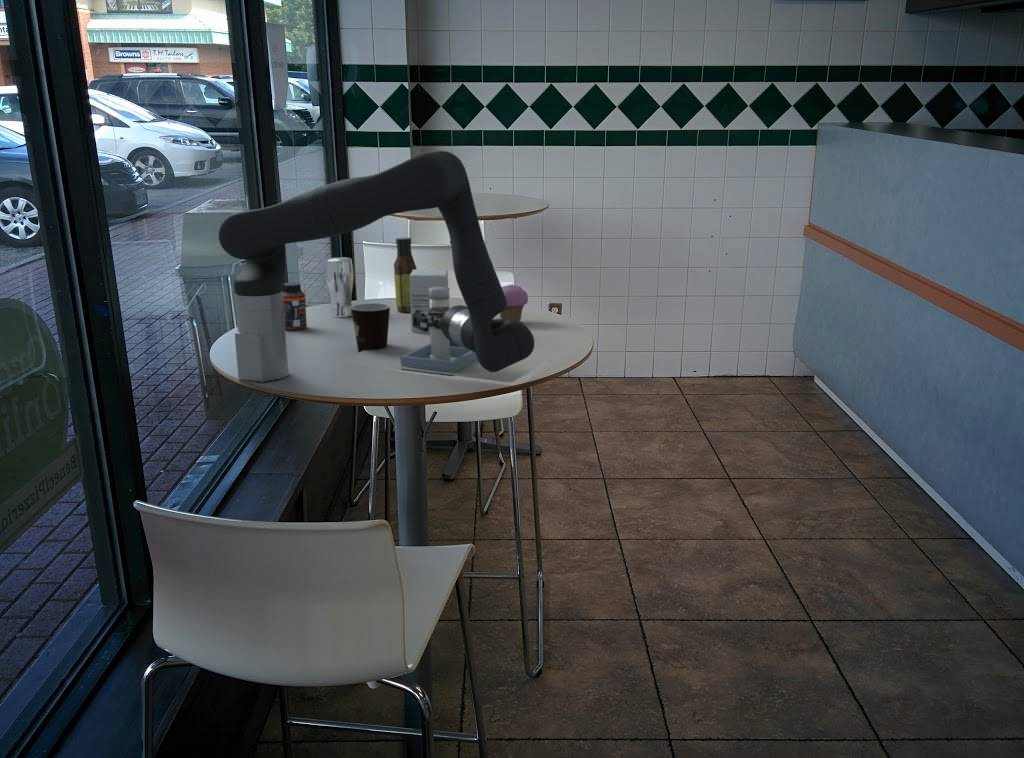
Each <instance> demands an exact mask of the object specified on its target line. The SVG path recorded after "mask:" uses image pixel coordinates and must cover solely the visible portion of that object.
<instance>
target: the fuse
mask: <svg viewBox="0 0 1024 758" xmlns="http://www.w3.org/2000/svg"><path fill="white" fill-rule="evenodd" d="M429 299H430V306H429V307H430V312H432V311H437V312H444V311H448V310H449V309H450V287H449V286H448V287H431V288H429ZM437 316H438V315H435V318H436V317H437ZM429 334H430V336H429V337H430V341H429V342H430V343H429V344H430V346H431V354H429V359H435V360H444V361H451V356H450V340H448V339H447V338H446V337H445V336H444V334H443V332H442V331H441V330H437V329H430V332H429Z"/></svg>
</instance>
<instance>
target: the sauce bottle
mask: <svg viewBox="0 0 1024 758" xmlns="http://www.w3.org/2000/svg"><path fill="white" fill-rule="evenodd" d="M395 244H396V250H397V252H396V253H397V254H396V255H397V256H396V259H395V261H394V262H393V270H394V271H393V272H394V274H393V275H394V276H393V277H394V289H395V302H396V303H395V304H396V309H397V312H399V313H403V312H404V313H406V312H408V313H411V306H410V277H409V276H410V274H411V272H412V271H413V270H415V269H418V268H417V265H416V263H415V260H414V257H413V254H412V245H411V244H412V238H411V237H409V236H408V237H407V236H406V237H402V236H401V237H396V238H395Z"/></svg>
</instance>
